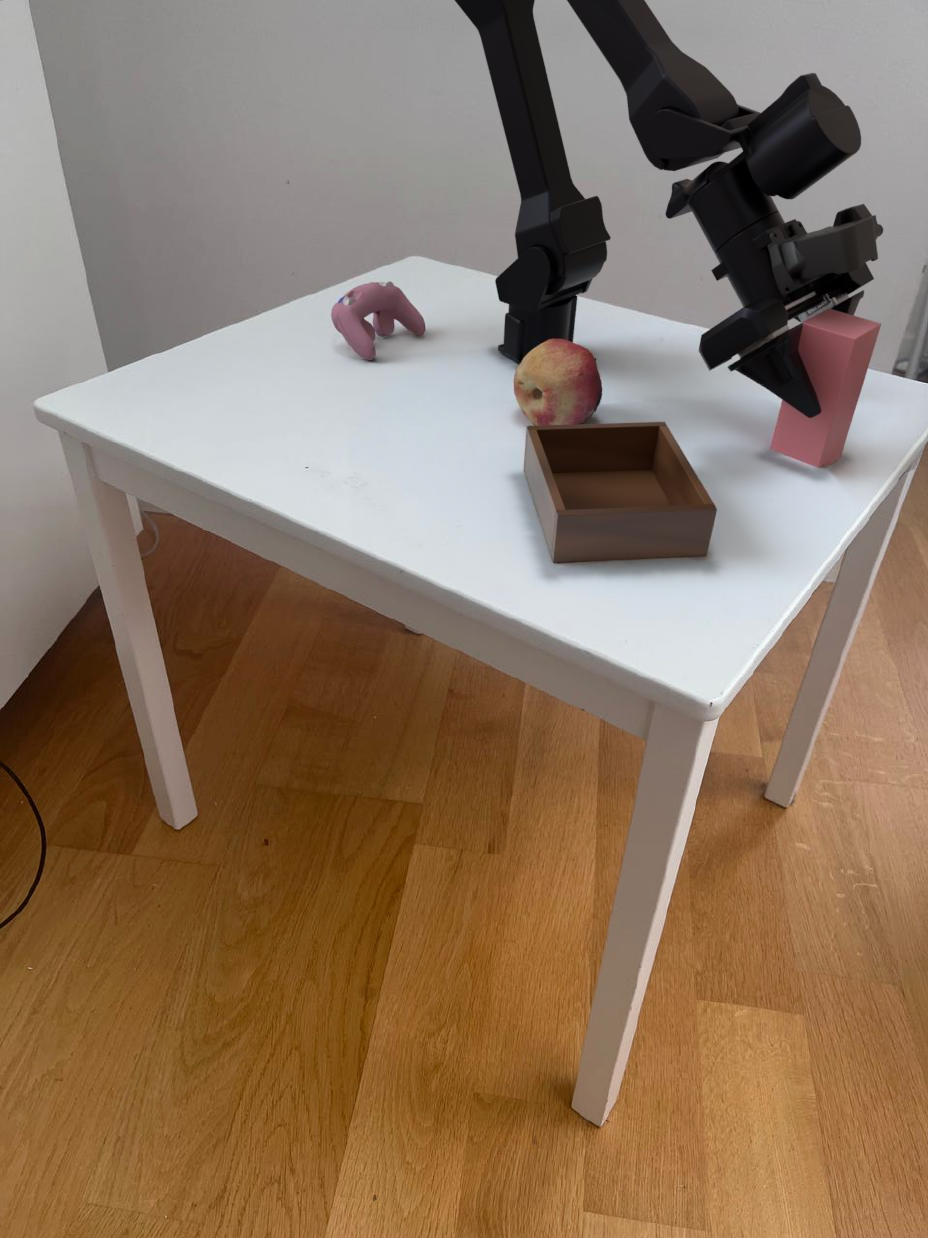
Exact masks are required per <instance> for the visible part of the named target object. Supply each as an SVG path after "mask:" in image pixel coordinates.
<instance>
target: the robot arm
mask: <svg viewBox="0 0 928 1238" xmlns="http://www.w3.org/2000/svg"><path fill="white" fill-rule="evenodd" d="M454 2H455V3H456V4H457V6H458V7H459V8H460V9H461V11H462V12H463V13H464V15H465V16H466V17H467V18H468V20H469V21H470V22H471V23H472V24H473V25H474V27H475V28H476V30H477V32H478V35H479V37H480V41H481V44H482V49H483V52H484V57H485V61H486V64H487V68H488V72H489V77H490V80H491V84H492V88H493V92H494V96H495V101H496V105H497V108H498V112H499V116H500V120H501V125H502V128H503V132H504V136H505V140H506V143H507V147H508V148H507V149H508V151H509V155H510V159H511V163H512V167H513V171H514V175H515V179H516V184H517V187H518V191H519V193H520V194H519V195H520V205H519V209H518V210H519V211H518V216H517V221H516V226H515V231H514V238H515V247H516V255H517V259H516V258H515V260H514V261H513V262H512V263H511V264H510V265H508V266H507V267H506V269H505V270H503V271H502V272H501V273H500V274H499V275H498V276H497V277H496V278H495V280H494V281H495V282H494V283H495V288H496V292H497V297H498V300H499V302H500V303H504V304H507V305H508V311H507V312H506V313H505V314H504V329H503V343H501V344H498V345H497V352H499V353H501V354H503V355H504V356H505V357H507V358H508V359H510V360H512V361H513V362H515V363H517V365H518V366H519V365H520V363H521V362H522V360H523V359H524V357H525V356H526V355H527V354H528V353H529V352H530V351H531V350H533V349H534V348H535V347H537V346H539V345H540V344H542V343H544V342H545V341H547V340H549V339H566V340H568V341H571V342H573V343H574V336H575V326H576V316H577V306H578V295H580V294H585V293H587V292H588V290H589V288H590V286H591V284H592V281H593V279H594V278H596V277H597V276H598V275H599V274H600V273H601V271H602V269H603V267H604V264H605V263H606V262H607V259H608V245H607V241H610V240H611V235H610V233H609V231H608V230H607V228H606V225H605V222H604V215H603V213H604V212H603V205H602V201H601V200H600V197H599V196H598V195H594V196H591V197H587V198H585V196H584V195H583V194H582V193H581V191H580V190H579V189H578V188H577V187H576V185H575V183H574V181H573V179H572V175H571V171H570V167H569V162H568V159H567V154H566V149H565V145H564V141H563V137H562V132H561V128H560V123H559V120H558V116H557V111H556V107H555V103H554V98H553V94H552V91H551V86H550V81H549V78H548V72H547V69H546V65H545V64H546V63H545V59H544V56H543V51H542V47H541V43H540V39H539V35H538V32H537V25H536V21H535V17H534V6H535V2H536V0H454ZM566 2H567V3H568V4H569V6H570V7H571V9H572V10H573V12H574V13H575V15H576V17H577V18H578V20H579V21H580V22H581V24H582V25H583V27H584V28H585V30H586V32H587V33H588V34H589V36H590V38H591V39H592V41H593V42H594V44H595V45H596V47H597V49H598V50H599V51H600V53H601V54H602V56H603V58H605V60H606V62H607V63H608V65H609V66H610V68H611V70H612V71H613V72H614V74H615V76H616V77H617V78H618V80H619V81H620V84H621V86H622V88H623V90H624V92H625V95H626V102H627V103H626V104H627V112H628V120H629V123H630V125H631V127H632V129H633V131H634V134H635V136H636V138H637V141H638V142H639V145H640V147H641V149H642V151H643V154H644V155H645V158H646V159H647V160H648V162H650V164H651V165H652V166H653V167H655V168H656V169H658V170H659V171H667V172H677V171H679V170H683V169H686V168H690V167H693V166H697V165H700V164H703V163H707V162H709V161H713V160H717V159H719V158H721V156H722V155H724V154H725V153H729V152H732V151H735V150H739V149H741V150H742V151H741V152H740V153H739V154H738V155H736V156H735V157H734V158H733V159H732V160H730V161H729V162H727V161H721V160H719V161H714V162H712V163H711V164H709V165H708V166H707V167H705V169H703V171H701V172H700V173H699V174H698V175H697V176H695V177H694V178H693V179H689V178H684V179H681V180H678V181H675V182H673V183H672V184H671V195H670V198H669V200H668V202H667V205H666V210H665V213H664V214H665V217H666V218H667V219H669V220H672V219H674V218H677V217H679V216H684V215H686V214H689V213H692V214H693V216H694V218H695V220H696V222H697V223H698V225H699V227H700V230H701V231H702V233H703V235H704V236H705V238H706V241H707V242H708V244H709V246H710V248H711V250H712V251H713V253H714V255H715V257H716V260H717V261H718V263H719V264H718V265H716V266H715V267H714V268H712V269H711V270H710V271H711V272H712V275H713V277H714V279H715V280H716V281H717V282H718V281H721V280H723V279H725V278H727V280H728V281H729V283H730V285H731V287H732V289H733V291H734V292H735V295H736V296H737V298H738V299H739V302H740V304H741V305H742V307H741V308H740V309H739V310H737V311H735V312H734V313H732V314H730V315H729V316H728V317H726V318H725V319H723V320H722V321H719V323H717V324H716V325H714V326H712V327H711V328H709V329H708V330H707V331H705V332H704V333H702V334H701V335H700V341H699V345H698V346H699V347H698V352H699V354H700V357H701V358H702V360H703V361H704V364H705V365H706V367H707V369H708V370H709V372H710V371H713V370H714V369H716V368H719V367H720V366H721V365H724V364H726V363H727V362H728V361H730V360H732V359H733V357H735V356H737V355H738V358H739V359H738V360H736V361H734V362H733V363H731V364H730V365H728V366H727V369H728V370H729V371H730V372H731V373H732V372H734V371H736V372H738V373H740V374H741V375H743V376H744V377H746V378H747V379H750V380H751V381H753V382H755V383H756V384H758V385H760V386H761V387H763V388H764V389H766V390H768V391H769V392H770V393H772V394H773V395H775V396H776V397H778V398H779V399H781V401H782V400H784V401H785V402H786V403H788V404H789V405H791V406H792V407H794V408H795V409H797V410H798V411H799V412H801V413H802V414H804V415H805V416H807V417H808V418H813V417H815V416H817V415H818V414H820V413H821V411H822V410H821V407H820V404H819V401H818V398H817V395H816V392H815V390H814V387H813V385H812V383H811V380H810V378H809V375H808V373H807V371H806V368H805V366H804V363H803V361H802V358H801V356H800V354H799V350H798V347H799V342H800V337H801V332H802V328H803V323H802V322H804V321H806V320H808V319H809V318H811V317H813V316H815V315H817V314H819V313H821V312H823V311H824V310H826V309H832V310H836V311H839V312H843V313H846V314H850V315H853V316H855V314H856V310H857V308H858V307H859V303H860V301H861V299H863V298H864V295H865V289H863V290H861V291H858V292H857V293H855V294H854V295H852V296H850V297H849V295H851V294H852V293H854V292H855V291H857V290H859V289H860V288H862V287H863V286H864V287H865V285H867V284H869V283H870V282H872V281H873V280H875V277H874V275H873V274H872V272H871V269H870V268H869V266H868V264H867V262H870V261H871V262H875V261H877V260H879V254H878V253H879V252H878V246H877V245H878V244H877V240H878V238H879V237H881V236H882V235H883V233H884V227H883V226H882V224H879V223H878V220H877V215H876V214H874V215H873V214H872V213H871V212H870V210H869V209H868V208H867V206H866V205H865V203H862V204H858V205H854V206H849V207H846V208H844V209H842V210H839V211H837V212H836V214H835V217H834V221H833V225H832V226H831V225H830V226H825V227H823V228H821V229H818V230H813V231H810V232H807V230H806V228H805V226H804V225H803V223H802V222H801V221H799V220H797V219H796V218H794V219H792V220H788V221H785V220H784V218H783V216H782V214H781V213H780V211H779V209H778V207H777V205H776V203H775V202H774V199H773V197H777V196H778V197H779V198H781V199H784V200H790V201H791V200H794V199H797V197H798V196H801V194H803V193H804V192H805V191H807V190H808V189H809V188H810V187H812V186H813V185H814V184H816V183H818V182H819V181H820V180H821V179H823V178H824V177H826V176H827V175H829V174H830V173H831V172H832V171H834V170H835V169H837V168H838V167H839V166H840V165H842V164H844V163H845V162H846V161H847V160H849V159H850V158H852V156H854V155H856V154H857V153H858V152H859V151H860V149H861V146H862V134H861V129H860V126H859V125H860V124H859V122H858V120H857V118H856V116H855V115H856V114H854V111H853V109H852V108H851V106H849V105H846V104H845V102H844V101H843V100H842V99H841V98H840V97H839V96H838V95H837V94H836V93H835V92H834V91H832V90H831V89H830V88H828V87H826V86H825V85H823V84H822V83H821V80H820V79H819V77H818V75H817V73H816V72H809V73H805V74H801V75H799V76H798V77H797V78H796V79H794V80H793V81H791V83H790V84H789V85H788V86H787V87H786V88H785V89H784V91H783V92H782V94H781V95H780V96H779V97H778V98H777V99H775V101H773V102H772V103H771V104H770V105H768V106H767V107H766V108H765V109H764V110H763V111H761V112H760V111H757V110H754V109H751V108H749V107H747V106H744V105H740V104H739V103H737V100H736V99H735V97H734V95H733V94H732V92H731V91H730V90H729V89H728V88H727V87H726V86H725V85H724V84H723V83H722V82H721V81H720V80H719V78H717V77H716V76H715V75H714V74H713V73H712V72H711V71H710V70H709V69H708V68H707V67H706V66H705V65H703V64H702V63H701V62H699V61H697V60H696V59H695V58H693V57H692V56H690V55H688V54H686V53H685V52H683V51H682V50H681V49H680V48H679V47H678V46H677V45H676V44H675V43H674V42H673V41H672V39H671V38H670V36H669V34H668V33H667V31H666V30H665V29H664V27H663V26H662V24H661V23H660V21H659V20H658V18H657V17H656V15H655V13H654V12H653V10H652V9H651V8H650V6H649V5H648V3H647V1H646V0H566ZM792 319H794V320H796V321H797V322H798V323H799V324H797V325H795V326H794V327H791V328H790V327H789V326H788V325H789V323H788V322H789V321H791V320H792Z"/></svg>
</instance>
